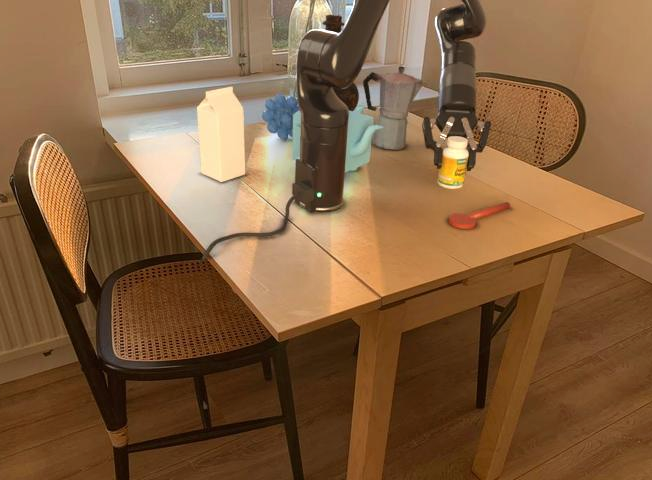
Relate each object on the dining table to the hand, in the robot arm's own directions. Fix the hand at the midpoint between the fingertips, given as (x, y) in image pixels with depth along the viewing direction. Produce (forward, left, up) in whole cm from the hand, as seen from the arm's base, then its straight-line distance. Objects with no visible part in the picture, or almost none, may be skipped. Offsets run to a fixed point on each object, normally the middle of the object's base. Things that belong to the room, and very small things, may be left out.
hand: (454, 168), depth 117 cm
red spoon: (+4, -6, -9) cm, 12 cm away
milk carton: (-31, +40, -9) cm, 51 cm away
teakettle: (-7, +30, -9) cm, 32 cm away
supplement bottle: (+1, +1, -4) cm, 5 cm away
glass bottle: (+16, +64, -9) cm, 66 cm away
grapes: (-6, +53, -9) cm, 54 cm away
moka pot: (+16, +37, -9) cm, 41 cm away
